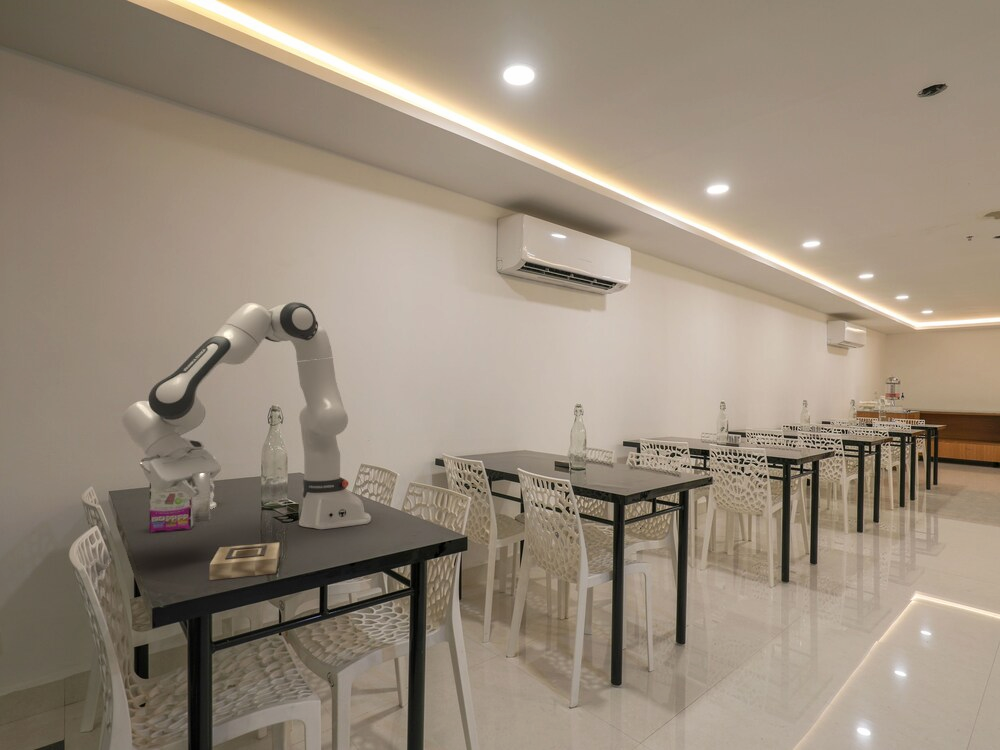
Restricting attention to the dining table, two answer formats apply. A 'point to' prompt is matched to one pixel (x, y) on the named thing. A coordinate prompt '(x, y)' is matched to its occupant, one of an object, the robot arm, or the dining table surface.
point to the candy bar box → (170, 510)
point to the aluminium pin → (201, 497)
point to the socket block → (245, 561)
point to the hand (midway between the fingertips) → (203, 493)
